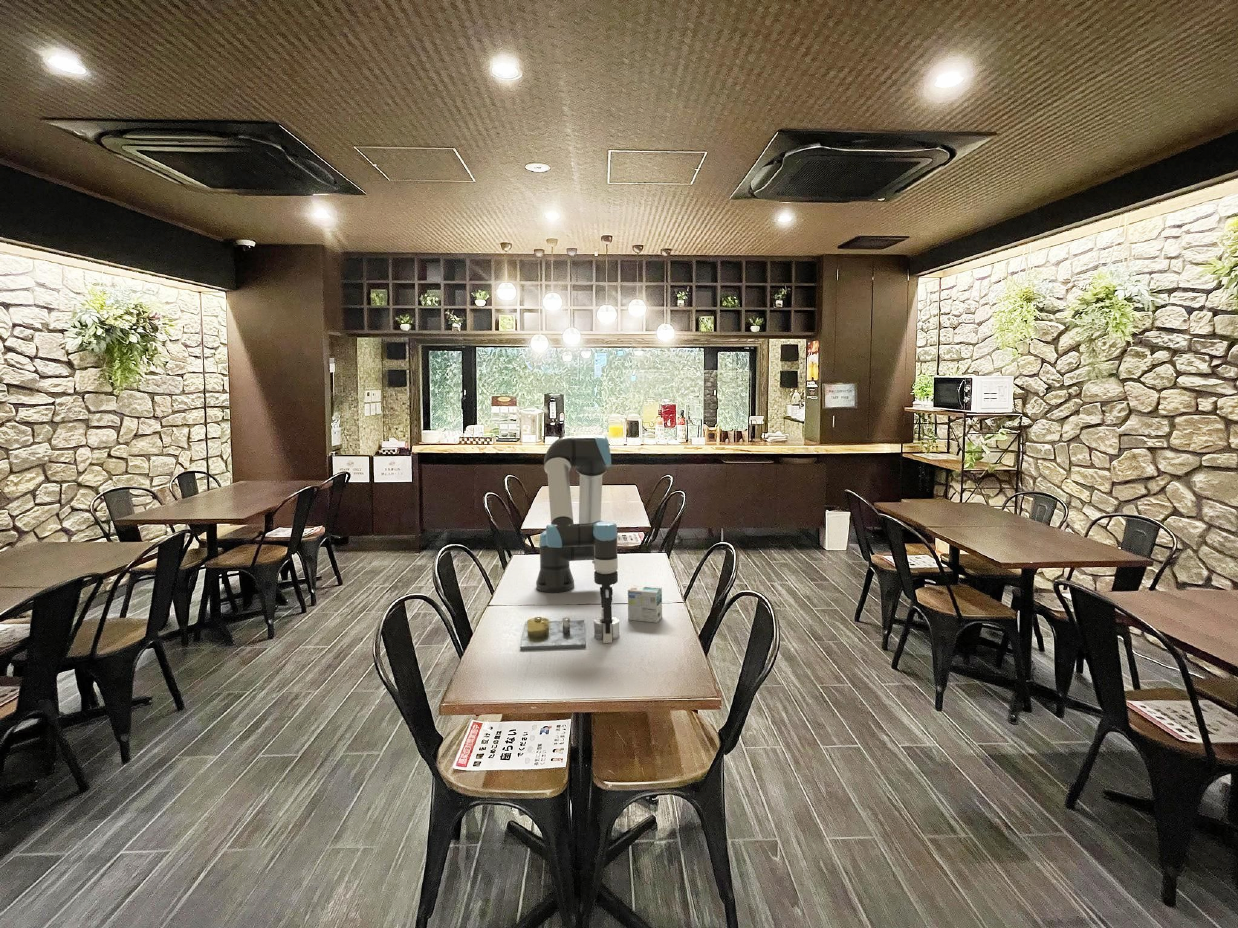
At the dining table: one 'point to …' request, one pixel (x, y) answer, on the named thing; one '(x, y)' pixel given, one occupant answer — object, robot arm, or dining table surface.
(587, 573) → the dining table surface
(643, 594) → the light bulb box
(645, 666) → the dining table surface
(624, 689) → the dining table surface
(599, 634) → the planet gear
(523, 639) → the carrier
